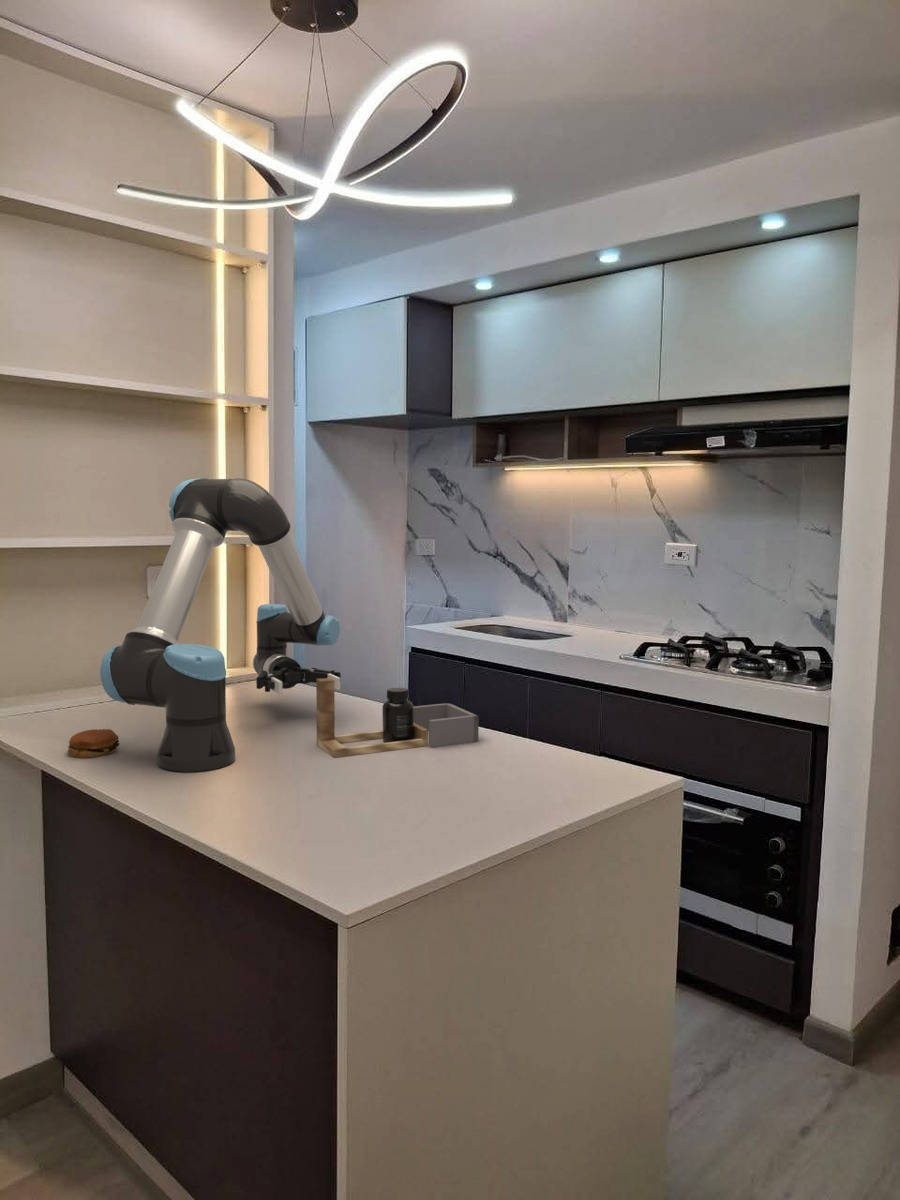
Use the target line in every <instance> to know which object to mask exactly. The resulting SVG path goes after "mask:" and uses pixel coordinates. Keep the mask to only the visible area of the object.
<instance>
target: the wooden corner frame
mask: <svg viewBox="0 0 900 1200" xmlns="http://www.w3.org/2000/svg"><path fill="white" fill-rule="evenodd" d="M315 684H316V686H315V687H316V745H317V746H318V747H319V748H321V750H323V751H324V752H326V753H327V754H329V755H330V756H332V758H342V757H350V756H351V757H352V756H357V755H365V754H371V753H381V752H390V751H396V750H398V751H399V750H406V749H412V748H419V747H420V748H421V747H427V746H428V747H429V731H428V730H427V729H425V728H423V727H421V726H419V725H417V724H415V723H413V733H414V736H413V740H405V741H396V742H388V743H383V742H381V743H380V742H379V743H374V744H366V745H355V746H348V747H346V746H345V745H343V744H344V743H353V742H355V743H356V742H361V741H370V740H378V739H383V729H382V730H375V731H366V732H358V733H357V732H356V733H348V734H339V735H335V734H336V733H335V723H336V722H335V719H336V718H335V713H336V712H335V689H334V680H333V679H331V678H323V679H316V683H315Z"/></svg>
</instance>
